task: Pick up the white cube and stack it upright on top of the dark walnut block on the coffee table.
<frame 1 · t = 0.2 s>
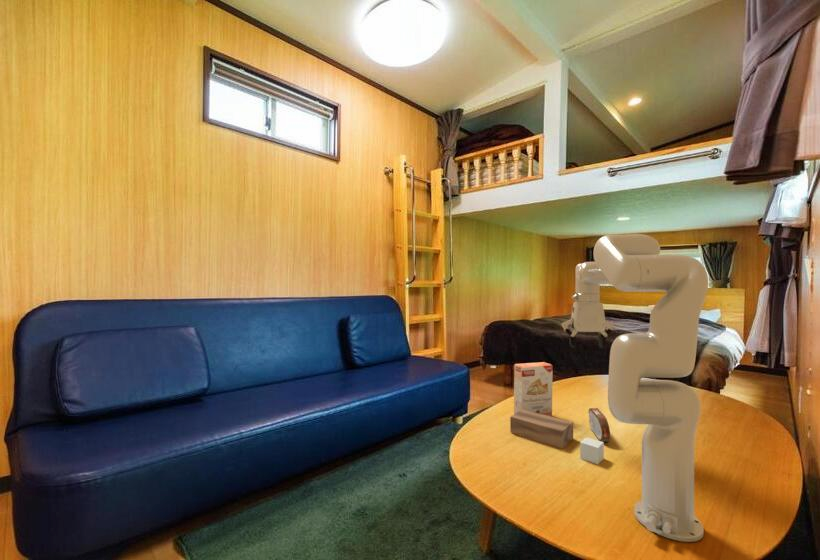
hand: (587, 347, 123), 31 cm above the table, tool pointing down, fingers open, 9 cm apart
cracker box: (533, 417, 140), on the table
walnut block: (541, 436, 123), on the table
tin: (598, 436, 123), on the table
white cube: (591, 458, 108), on the table
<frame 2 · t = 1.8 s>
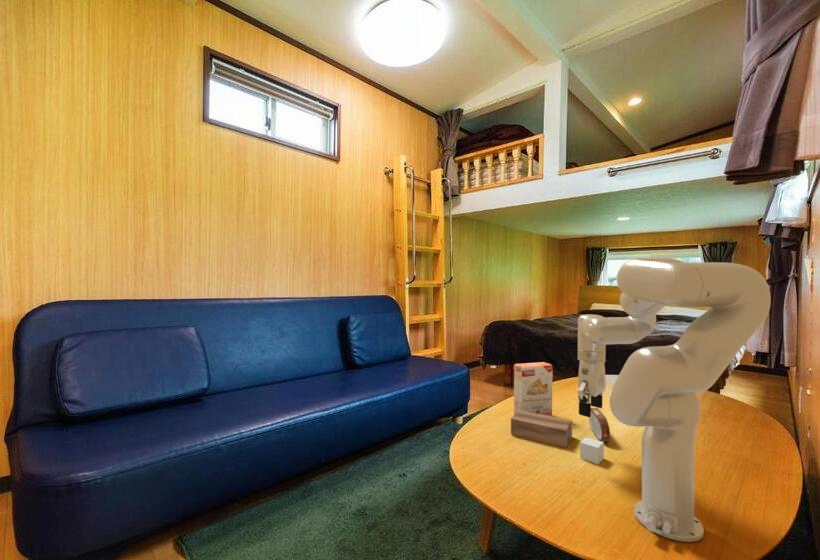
hand: (590, 411, 108), 14 cm above the table, tool pointing down, fingers open, 9 cm apart
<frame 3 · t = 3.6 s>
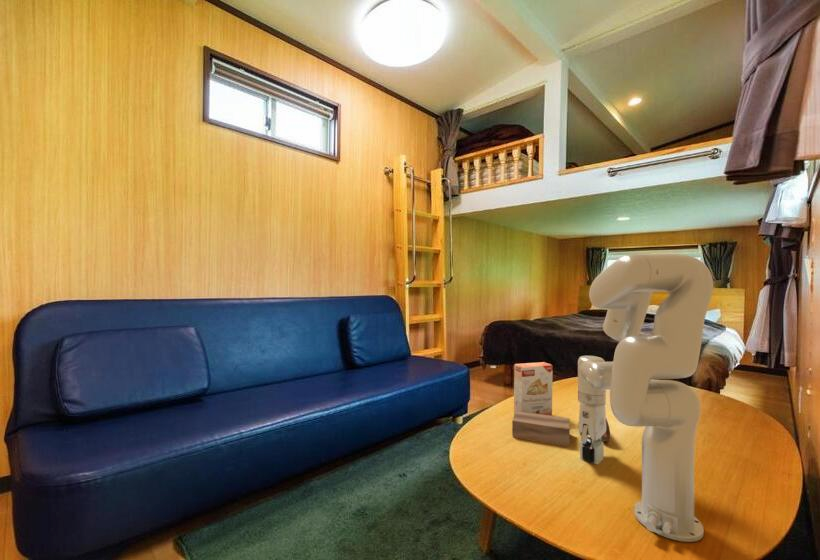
hand: (591, 456, 108), 0 cm above the table, tool pointing down, fingers closed on white cube, 5 cm apart
white cube: (591, 458, 108), on the table, touching gripper
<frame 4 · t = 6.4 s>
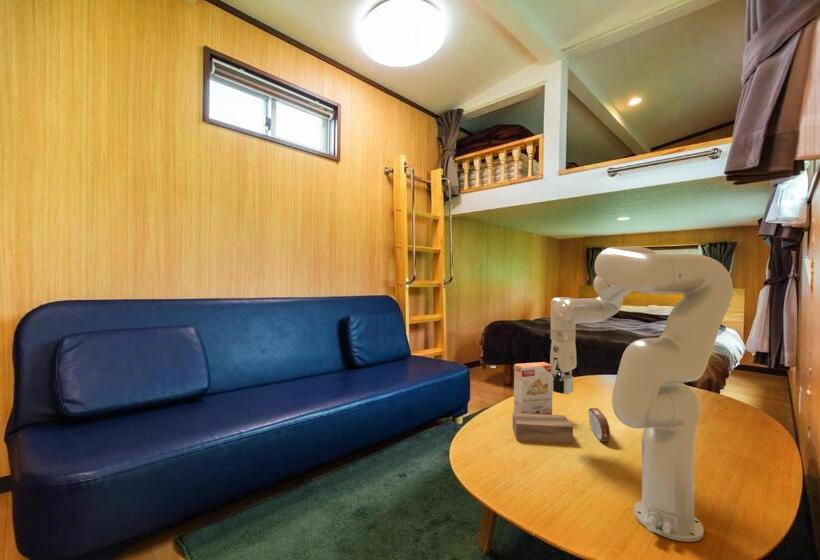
hand: (562, 389, 116), 18 cm above the table, tool pointing down, fingers closed on white cube, 5 cm apart
white cube: (562, 391, 116), point 18 cm above the table, touching gripper
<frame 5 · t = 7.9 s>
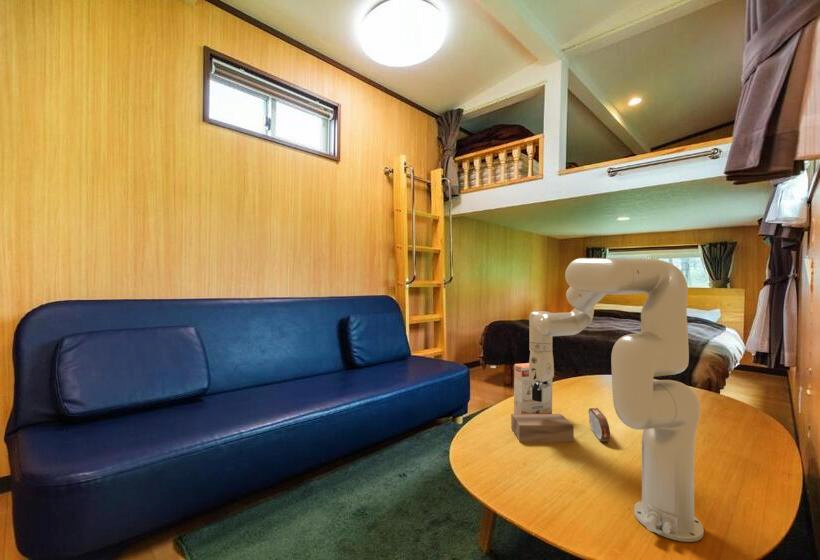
hand: (540, 398, 124), 13 cm above the table, tool pointing down, fingers closed on white cube, 5 cm apart
white cube: (540, 399, 124), point 12 cm above the table, touching gripper
when the fingers open (8 cm above the table, at t = 9.1 s): white cube drops 2 cm, resting on walnut block.
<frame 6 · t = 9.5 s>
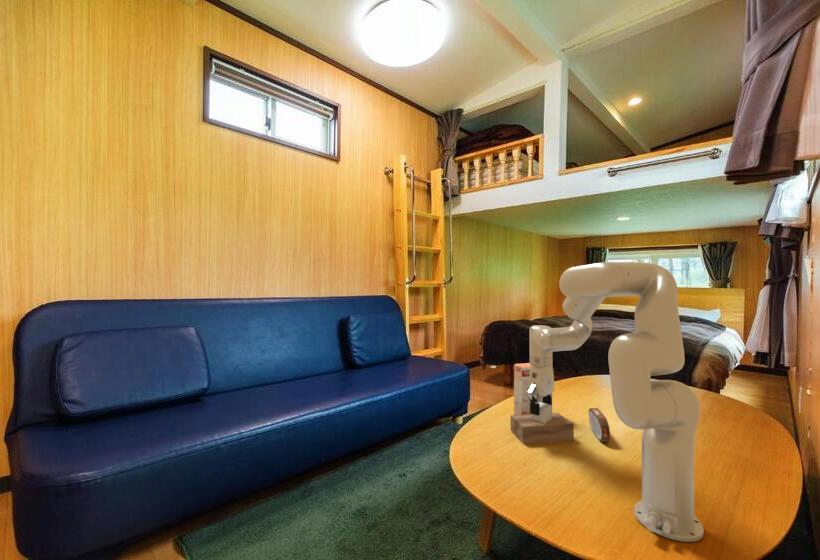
hand: (541, 410, 123), 9 cm above the table, tool pointing down, fingers open, 8 cm apart
walnut block: (541, 436, 123), on the table, touching white cube
white cube: (541, 419, 123), point 6 cm above the table, touching walnut block
everything else where it was.
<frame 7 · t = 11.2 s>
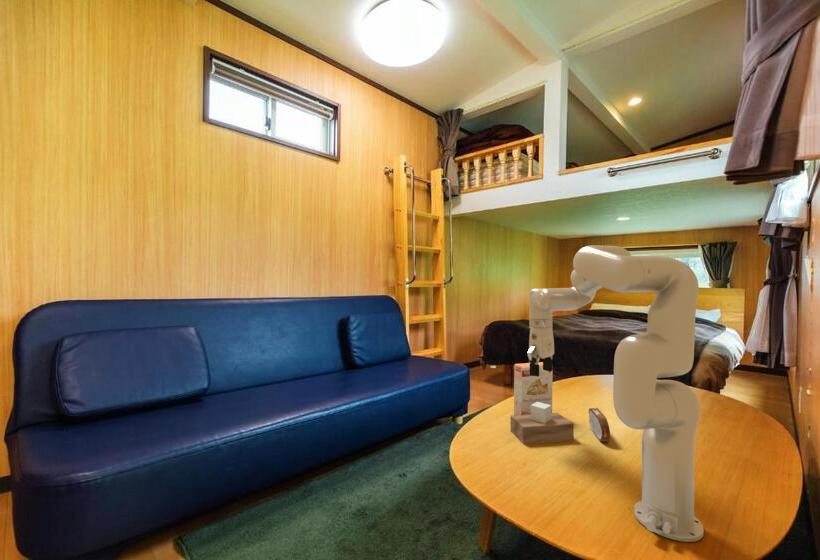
hand: (541, 373, 123), 22 cm above the table, tool pointing down, fingers open, 9 cm apart
walnut block: (541, 436, 123), on the table
white cube: (540, 419, 123), point 6 cm above the table
everything else where it was.
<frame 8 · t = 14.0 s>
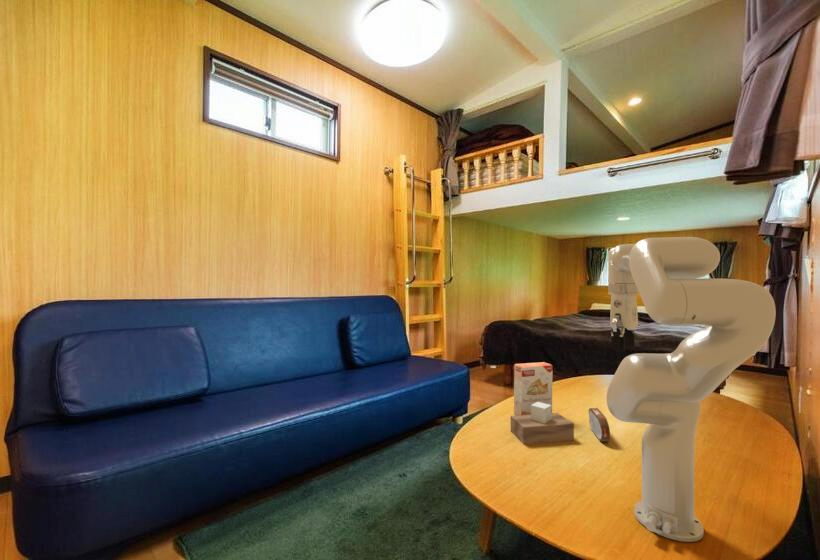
hand: (623, 348, 103), 34 cm above the table, tool pointing down, fingers open, 9 cm apart
walnut block: (541, 436, 123), on the table, touching white cube
white cube: (541, 419, 123), point 6 cm above the table, touching walnut block
everything else where it was.
at the end: white cube inside the target area on the walnut block (0.3 cm from its centre), point 6.0 cm above the walnut block's base; white cube tilted 0°; white cube touching walnut block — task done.
